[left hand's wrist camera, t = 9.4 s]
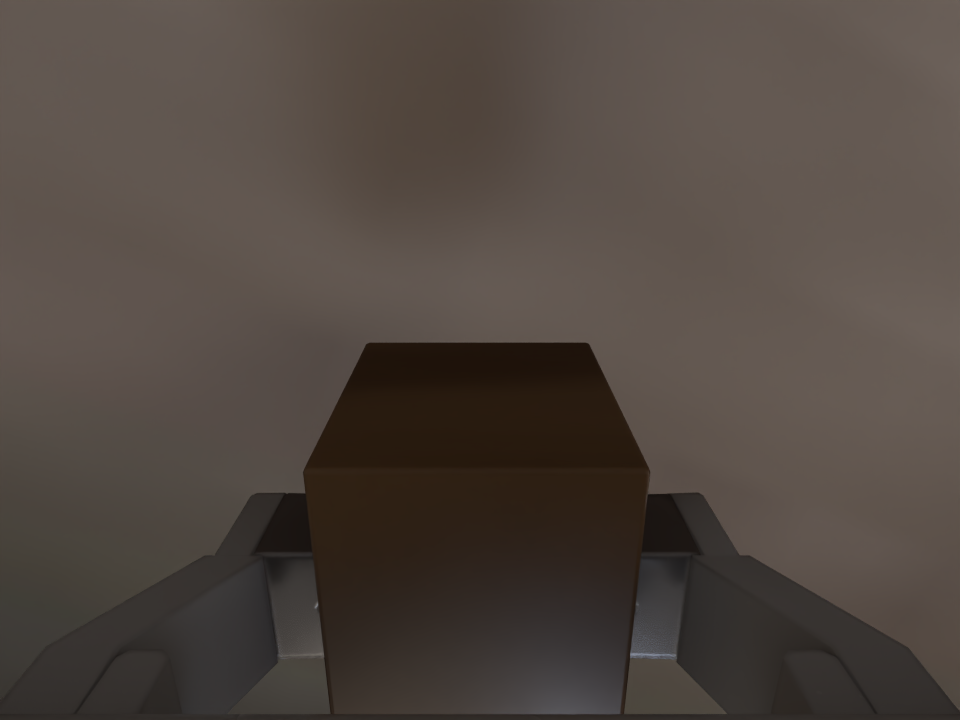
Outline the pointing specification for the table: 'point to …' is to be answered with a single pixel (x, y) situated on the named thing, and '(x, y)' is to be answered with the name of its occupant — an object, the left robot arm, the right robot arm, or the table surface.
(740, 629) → the left robot arm
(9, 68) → the table surface
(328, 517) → the brick
